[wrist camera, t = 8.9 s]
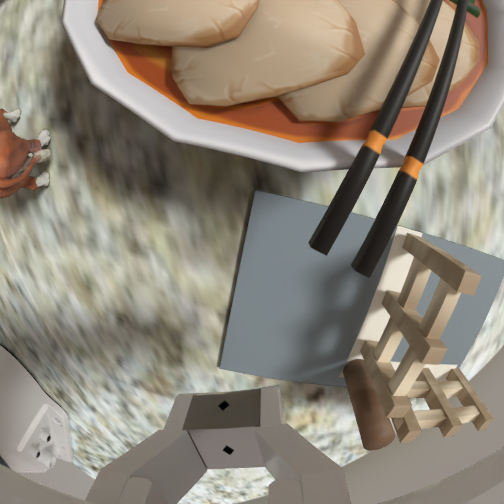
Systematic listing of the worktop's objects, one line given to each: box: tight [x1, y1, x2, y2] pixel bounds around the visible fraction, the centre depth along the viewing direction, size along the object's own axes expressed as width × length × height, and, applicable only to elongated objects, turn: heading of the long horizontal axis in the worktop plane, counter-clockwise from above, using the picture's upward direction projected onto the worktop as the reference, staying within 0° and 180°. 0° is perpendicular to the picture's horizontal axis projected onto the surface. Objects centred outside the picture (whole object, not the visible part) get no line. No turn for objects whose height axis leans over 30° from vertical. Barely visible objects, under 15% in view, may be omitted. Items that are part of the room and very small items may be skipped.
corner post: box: [343, 359, 395, 450], centre depth 17 cm, size 2×2×8 cm
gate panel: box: [360, 233, 482, 418], centre depth 15 cm, size 9×1×6 cm, turn 168°
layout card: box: [220, 190, 504, 387], centre depth 19 cm, size 13×21×1 cm, turn 79°
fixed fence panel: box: [391, 368, 493, 443], centre depth 17 cm, size 9×1×7 cm, turn 79°
